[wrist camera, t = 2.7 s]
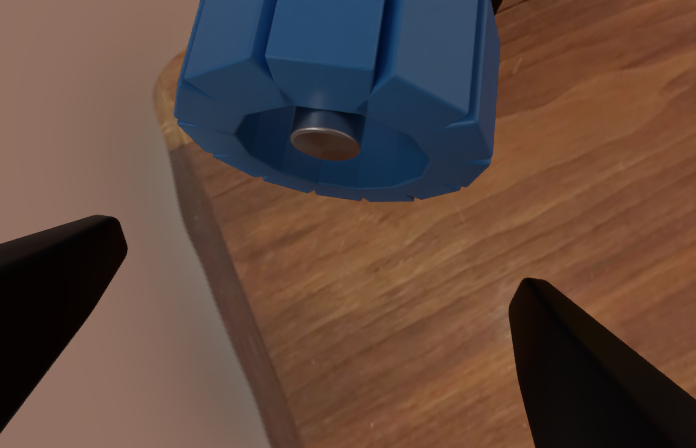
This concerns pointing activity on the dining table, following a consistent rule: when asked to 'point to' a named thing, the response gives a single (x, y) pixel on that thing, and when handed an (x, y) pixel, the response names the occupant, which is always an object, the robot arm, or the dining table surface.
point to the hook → (332, 129)
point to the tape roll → (346, 91)
